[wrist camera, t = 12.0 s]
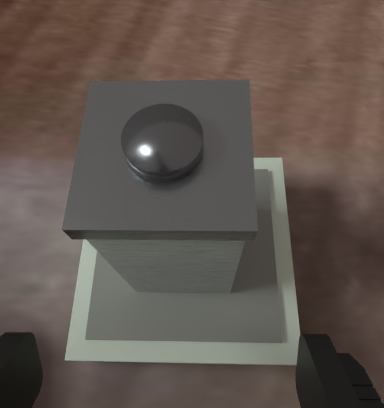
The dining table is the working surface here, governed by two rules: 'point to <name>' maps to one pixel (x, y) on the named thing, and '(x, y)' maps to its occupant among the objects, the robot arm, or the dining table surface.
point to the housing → (166, 182)
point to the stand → (197, 303)
